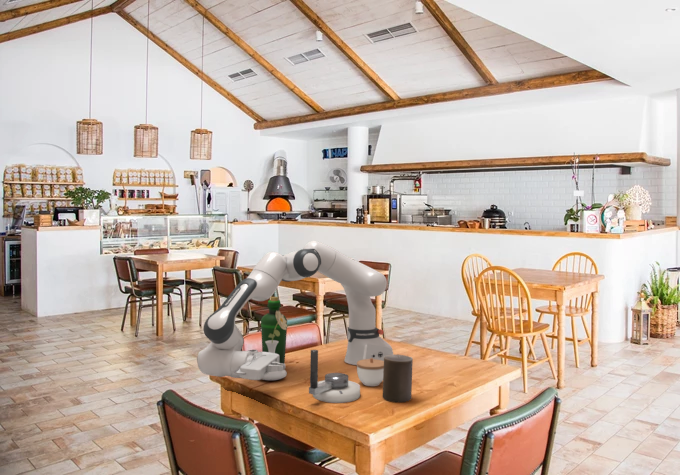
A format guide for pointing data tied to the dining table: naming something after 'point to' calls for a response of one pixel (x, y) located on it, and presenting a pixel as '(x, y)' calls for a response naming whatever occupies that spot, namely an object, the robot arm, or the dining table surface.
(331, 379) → the saucepan with upright handle
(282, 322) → the flower in vase
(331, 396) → the light grey round disc
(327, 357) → the dining table surface
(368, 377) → the lidded jar
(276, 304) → the bottle
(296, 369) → the dining table surface
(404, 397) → the pillar candle
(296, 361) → the dining table surface
